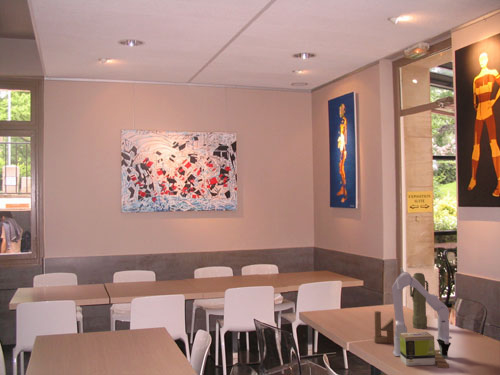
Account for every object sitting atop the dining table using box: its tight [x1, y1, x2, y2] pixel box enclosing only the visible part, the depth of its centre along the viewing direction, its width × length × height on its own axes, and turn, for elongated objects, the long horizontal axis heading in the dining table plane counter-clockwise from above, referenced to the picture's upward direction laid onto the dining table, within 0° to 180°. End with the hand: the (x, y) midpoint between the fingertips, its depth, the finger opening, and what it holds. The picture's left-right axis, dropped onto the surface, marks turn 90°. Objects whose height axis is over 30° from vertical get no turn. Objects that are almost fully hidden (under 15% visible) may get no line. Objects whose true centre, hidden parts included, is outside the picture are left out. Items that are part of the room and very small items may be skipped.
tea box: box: [400, 331, 436, 367], centre depth 284 cm, size 15×10×15 cm, turn 92°
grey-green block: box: [435, 345, 449, 359], centre depth 293 cm, size 4×7×6 cm, turn 84°
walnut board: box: [435, 352, 450, 369], centre depth 287 cm, size 24×5×2 cm, turn 174°
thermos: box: [409, 272, 430, 330], centre depth 360 cm, size 9×12×35 cm
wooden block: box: [373, 310, 395, 344], centre depth 324 cm, size 4×11×18 cm, turn 85°
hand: (443, 354), depth 293 cm, fingers open, 3 cm apart
